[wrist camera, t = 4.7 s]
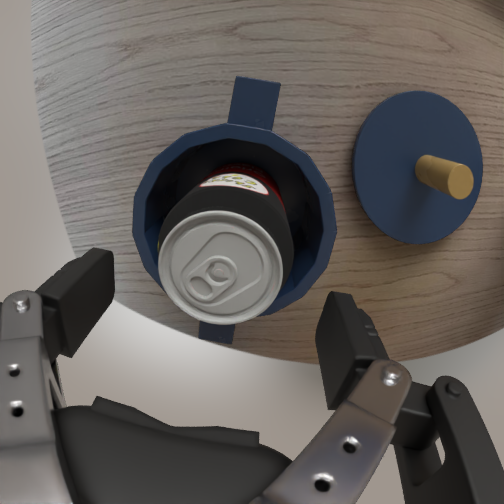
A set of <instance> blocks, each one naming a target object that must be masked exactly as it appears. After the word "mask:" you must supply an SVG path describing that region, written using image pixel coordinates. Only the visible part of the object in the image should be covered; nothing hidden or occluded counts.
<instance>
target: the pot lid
mask: <svg viewBox="0 0 504 504" xmlns="http://www.w3.org/2000/svg"><path fill="white" fill-rule="evenodd" d="M352 174H353V182H354V187H355V191H356V194H357V197H358V200H359V202H360V204H361V206H362V208H363V210H364V211H365V213H366V214H367V216H368V217H369V219H370V220H371V221H372V222H373V223H374V224H375V225H376V226H377V227H378V228H379V229H380V230H381V231H382V232H384V233H385V234H387V235H388V236H390V237H392V238H394V239H396V240H398V241H401V242H404V243H410V244H426V243H431V242H434V241H438V240H440V239H442V238H444V237H446V236H448V235H449V234H451V233H452V232H453V231H455V230H456V229H457V228H458V227H459V226H460V225H461V224H462V223H463V222H464V221H465V219H466V218H467V217H468V215H469V214H470V212H471V210H472V209H473V207H474V205H475V203H476V200H477V198H478V195H479V192H480V187H481V183H482V174H483V162H482V153H481V148H480V144H479V141H478V138H477V135H476V133H475V131H474V129H473V127H472V125H471V123H470V122H469V120H468V119H467V117H466V116H465V115H464V114H463V112H462V111H461V110H460V109H459V108H458V107H457V106H455V105H454V104H453V103H452V102H450V101H449V100H447V99H445V98H444V97H442V96H439V95H437V94H434V93H431V92H426V91H407V92H402V93H399V94H395V95H393V96H391V97H389V98H387V99H385V100H384V101H383V102H381V103H380V104H379V105H377V106H376V107H375V108H374V109H373V110H372V111H371V113H370V114H369V115H368V116H367V118H366V119H365V121H364V123H363V124H362V126H361V128H360V130H359V133H358V135H357V138H356V142H355V145H354V150H353V157H352Z"/></svg>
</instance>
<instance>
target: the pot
mask: <svg viewBox="0 0 504 504" xmlns="http://www.w3.org/2000/svg"><path fill="white" fill-rule="evenodd" d="M280 86H281V83H278V82H273V81H267V80H261V79H255V78H248V77H242V76H236V79H235V84H234V89H233V95H232V100H231V106H230V111H229V117H228V122H227V123H224V124H220V125H216V126H212V127H208V128H205V129H201V130H197V131H193V132H190V133H186V134H184V135H182V136H181V137H180V138H179V139H177V140H176V141H175V142H174V143H172V144H171V145H170V146H169V147H167V148H166V149H165V150H164V151H163V152H161V153H160V154H159V155H158V156H157V157H155V158H154V159H153V160H152V162H151V163H150V165H149V167H148V169H147V171H146V173H145V175H144V177H143V179H142V181H141V183H140V185H139V187H138V189H137V191H136V193H135V196H134V205H133V227H132V233H133V238H134V240H135V243H136V246H137V249H138V252H139V254H140V257H141V260H142V263H143V265H144V268H145V269H146V271H147V272H148V273H149V274H150V275H151V277H152V278H153V279H154V280H155V281H156V282H157V284H158V285H159V286H160V287H161V288H162V289H163V290H164V287H163V285H162V283H161V280H160V276H159V269H158V260H159V258H158V240H159V234H160V230H161V227H162V225H163V222H164V220H165V218H166V217H167V215H168V213H169V212H170V211H171V209H172V208H173V207H174V206H175V205H176V204H177V203H178V202H179V201H180V200H181V199H182V198H183V197H185V196H186V195H187V194H188V193H189V192H190V191H191V190H192V189H193V188H194V187H195V186H196V185H197V184H199V183H200V182H201V181H202V180H203V179H204V178H205V177H206V176H207V175H208V174H210V173H211V172H212V171H213V170H215V169H216V168H218V167H220V166H223V165H226V164H229V163H248V164H252V165H255V166H257V167H259V168H261V169H263V170H264V171H265V172H267V173H268V174H269V175H270V176H271V177H272V178H273V180H274V181H275V182H276V184H277V186H278V188H279V190H280V193H281V197H282V201H283V204H284V208H285V212H286V216H287V220H288V224H289V228H290V232H291V236H292V240H293V247H294V258H293V264H292V268H291V272H290V274H289V276H288V279H287V281H286V283H285V284H284V286H283V288H282V289H281V290H280V291H279V293H278V294H277V296H276V298H275V300H274V301H273V302H272V304H271V305H270V306H269V307H268V308H267V309H266V310H265V311H264V312H262V313H261V314H259V315H258V316H256V317H259V316H265V315H271V314H273V313H275V312H277V311H279V310H280V309H282V308H284V307H286V306H288V305H289V304H291V303H293V302H295V301H296V300H298V299H300V298H302V297H303V296H304V295H305V294H306V293H307V291H308V290H309V289H310V288H311V286H312V285H313V284H314V283H315V282H316V280H317V279H318V278H319V277H320V275H321V274H322V273H323V272H324V270H325V269H326V268H327V265H328V262H329V258H330V255H331V252H332V248H333V245H334V241H335V238H336V234H337V226H336V218H335V211H334V204H333V197H332V192H331V189H330V188H329V186H328V184H327V183H326V181H325V180H324V178H323V176H322V175H321V173H320V172H319V170H318V169H317V167H316V165H315V164H314V162H313V161H312V159H311V158H310V156H308V154H307V153H305V152H304V151H302V150H301V149H299V148H298V147H296V146H295V145H293V144H292V143H290V142H289V141H287V140H286V139H284V138H283V137H281V136H280V135H278V134H276V133H275V132H273V131H272V128H273V123H274V117H275V112H276V107H277V102H278V96H279V91H280ZM164 292H165V293H166V291H165V290H164ZM166 294H167V293H166ZM234 329H235V324H230V325H219V324H212V323H207V322H204V321H201V320H200V325H199V335H198V338H199V339H203V340H209V341H214V342H220V343H225V344H232V340H233V335H234Z"/></svg>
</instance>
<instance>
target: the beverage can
mask: <svg viewBox="0 0 504 504" xmlns="http://www.w3.org/2000/svg"><path fill="white" fill-rule="evenodd" d="M158 258H159V260H158V269H159V276H160V280H161V283H162V285H163V287H164V290H165V291H166V293H167V295H168V296H169V298H170V299H171V300H172V301H173V302H174V303H175V305H176V306H177V307H179V308H180V309H181V310H182V311H184V312H185V313H187V314H188V315H190V316H192V317H194V318H196V319H198V320H201V321H204V322H207V323H212V324H219V325H230V324H237V323H242V322H245V321H248V320H250V319H252V318H254V317H256V316H258V315H259V314H261V313H262V312H264V311H265V310H266V309H267V308H268V307H269V306H270V305H271V304H272V302H273V301H274V300H275V298H276V296H277V294H278V293H279V291H280V290H281V289H282V288H283V286H284V284H285V283H286V281H287V279H288V276H289V274H290V272H291V268H292V264H293V258H294V247H293V240H292V236H291V232H290V228H289V224H288V220H287V216H286V212H285V208H284V204H283V201H282V197H281V193H280V190H279V188H278V186H277V184H276V182H275V181H274V180H273V178H272V177H271V176H270V175H269V174H268V173H267V172H265V171H264V170H263V169H261V168H259V167H257V166H255V165H252V164H248V163H229V164H226V165H223V166H220V167H218V168H216V169H215V170H213V171H212V172H211V173H210V174H208V175H207V176H206V177H205V178H204V179H203V180H202V181H201V182H200V183H199V184H197V185H196V186H195V187H194V188H193V189H192V190H191V191H190V192H189V193H188V194H187V195H186V196H185V197H183V198H182V199H181V200H180V201H179V202H178V203H177V204H176V205H175V206H174V207H173V208H172V209H171V211H170V212H169V213H168V215H167V217H166V218H165V220H164V222H163V225H162V227H161V230H160V234H159V240H158Z"/></svg>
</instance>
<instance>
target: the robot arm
mask: <svg viewBox="0 0 504 504" xmlns="http://www.w3.org/2000/svg"><path fill="white" fill-rule="evenodd" d="M114 293H115V279H114V256H113V253H112V251H109V250H104V249H99V248H92V249H90V250H89V251H88V252H87V253H86V254H84V255H83V256H82V257H79V258H77V259H74V260H72V261H70V262H68V263H67V264H65V265H64V266H63V267H62V268H61V270H58V271H57V272H56V273H55V274H54V276H51V277H50V278H49V279H48V280H47V281H46V282H45V283H43V284H42V285H41V286H40V287H39V288H38V289H37V290H36V291H35V292H34V291H28V290H22V291H18V292H15V293H12V294H10V295H9V296H8V297H7V298H6V299H5V300H4V302H3V303H2V302H0V504H355V503H356V502H357V500H358V499H359V497H360V495H361V494H362V492H363V491H364V489H365V487H366V486H367V484H368V482H369V481H370V479H371V477H372V475H373V474H374V472H375V470H376V468H377V467H378V465H379V463H380V461H381V459H382V457H383V455H384V453H385V452H386V450H387V448H388V446H389V444H393V445H394V450H395V454H396V459H397V464H398V468H399V473H400V478H401V484H402V489H403V494H404V500H405V504H504V470H503V467H502V465H501V462H500V460H499V457H498V455H497V452H496V450H495V447H494V445H493V442H492V440H491V438H490V435H489V433H488V431H487V429H486V427H485V424H484V422H483V420H482V418H481V415H480V413H479V411H478V409H477V407H476V405H475V403H474V401H473V399H472V397H471V395H470V393H469V391H468V389H467V388H466V387H465V385H464V384H463V383H462V382H460V381H459V380H457V379H456V378H453V377H451V376H441V377H439V378H437V380H436V381H435V383H434V384H433V385H432V387H431V386H427V385H423V384H420V383H416V382H413V381H412V377H411V375H410V373H409V371H408V370H407V369H406V368H405V367H404V366H403V365H401V364H400V363H398V362H396V361H394V360H390V359H389V357H388V355H387V352H386V350H385V348H384V346H383V343H382V341H381V339H380V337H379V336H378V333H377V330H376V329H375V326H374V324H373V322H372V320H371V318H370V317H369V316H368V315H367V314H366V313H365V312H364V311H363V310H362V309H358V308H357V306H356V304H355V302H354V300H353V297H352V295H351V294H347V293H340V292H334V291H331V292H330V293H329V294H328V296H327V299H326V302H325V305H324V308H323V311H322V314H321V317H320V320H319V322H318V325H317V329H316V335H315V342H316V348H317V353H318V358H319V363H320V368H321V373H322V379H323V385H324V390H325V396H326V402H327V407H328V410H336V411H335V412H334V413H333V415H332V416H331V417H330V419H329V420H328V421H327V422H326V423H325V425H324V426H323V427H322V428H321V430H320V431H319V432H318V433H317V435H316V436H315V437H314V438H313V439H312V440H311V442H310V443H309V444H308V445H307V446H306V447H305V449H304V450H303V451H302V452H301V453H300V454H299V455H298V456H297V457H296V459H295V460H294V461H292V460H291V459H289V458H288V457H286V456H285V455H283V454H282V453H280V452H278V451H276V450H274V449H272V448H270V447H268V446H265V445H262V444H259V432H256V431H247V430H239V429H232V428H226V427H219V426H211V427H210V426H209V427H174V426H170V425H167V424H165V423H163V422H161V421H159V420H157V419H155V418H153V417H151V416H149V415H147V414H145V413H143V412H141V411H139V410H137V409H136V408H134V407H131V406H127V405H124V404H121V403H117V402H114V401H111V400H108V399H105V398H102V397H99V396H96V398H95V400H94V402H93V404H92V406H69V407H67V406H66V403H65V398H64V393H63V389H62V385H61V379H60V374H59V368H58V363H57V360H56V358H57V357H58V355H59V354H61V355H64V356H67V357H69V358H72V357H73V355H74V354H75V352H76V351H77V349H78V348H79V347H80V345H81V344H82V342H83V341H84V339H85V338H86V337H87V335H88V334H89V333H90V331H91V330H92V328H93V327H94V326H95V324H96V323H97V322H98V320H99V319H100V317H101V316H102V315H103V313H104V312H105V311H106V309H107V308H108V307H109V305H110V304H111V303H112V300H113V298H114ZM439 437H440V439H441V442H442V445H443V448H444V451H445V460H444V463H443V465H442V464H441V460H440V457H439V454H438V450H437V447H436V444H435V441H436V440H437V439H438V438H439Z"/></svg>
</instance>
